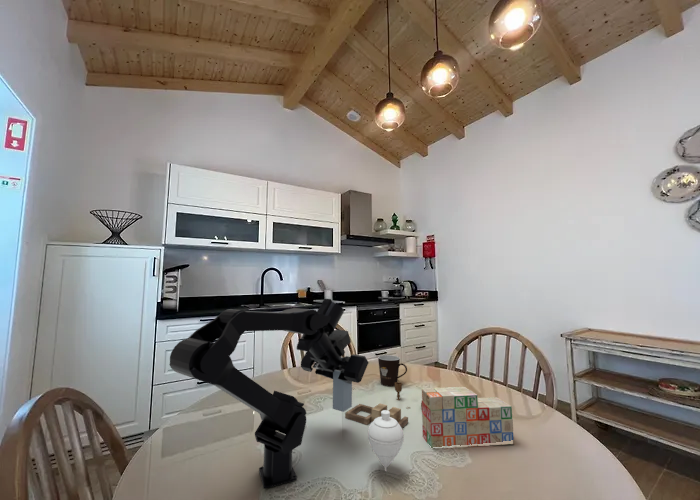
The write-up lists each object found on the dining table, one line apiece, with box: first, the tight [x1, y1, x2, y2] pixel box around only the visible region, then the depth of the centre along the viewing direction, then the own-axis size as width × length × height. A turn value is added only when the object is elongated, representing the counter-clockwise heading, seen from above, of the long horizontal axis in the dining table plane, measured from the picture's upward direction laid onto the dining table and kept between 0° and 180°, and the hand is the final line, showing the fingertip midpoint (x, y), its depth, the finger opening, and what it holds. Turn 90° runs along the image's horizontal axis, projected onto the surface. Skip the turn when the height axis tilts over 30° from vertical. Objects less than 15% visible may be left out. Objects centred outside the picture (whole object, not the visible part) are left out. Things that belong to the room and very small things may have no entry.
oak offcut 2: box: [388, 406, 402, 422], centre depth 84 cm, size 5×2×4 cm, turn 146°
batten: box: [332, 370, 353, 413], centre depth 81 cm, size 4×4×12 cm
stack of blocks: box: [421, 386, 514, 449], centre depth 76 cm, size 21×6×12 cm, turn 96°
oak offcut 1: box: [370, 402, 388, 424], centre depth 86 cm, size 5×2×4 cm, turn 146°
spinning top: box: [367, 409, 405, 472], centre depth 64 cm, size 8×8×12 cm
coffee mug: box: [377, 354, 408, 388], centre depth 117 cm, size 12×9×10 cm
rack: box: [344, 403, 409, 429], centre depth 86 cm, size 8×16×2 cm, turn 56°
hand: (345, 380), depth 82 cm, fingers closed on batten, 3 cm apart
